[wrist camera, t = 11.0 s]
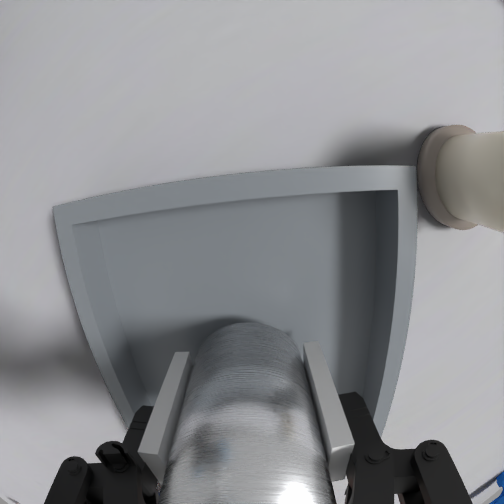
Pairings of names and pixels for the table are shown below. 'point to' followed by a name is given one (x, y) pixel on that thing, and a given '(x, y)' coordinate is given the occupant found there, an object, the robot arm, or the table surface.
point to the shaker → (247, 425)
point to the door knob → (463, 177)
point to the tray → (247, 272)
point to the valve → (503, 500)
